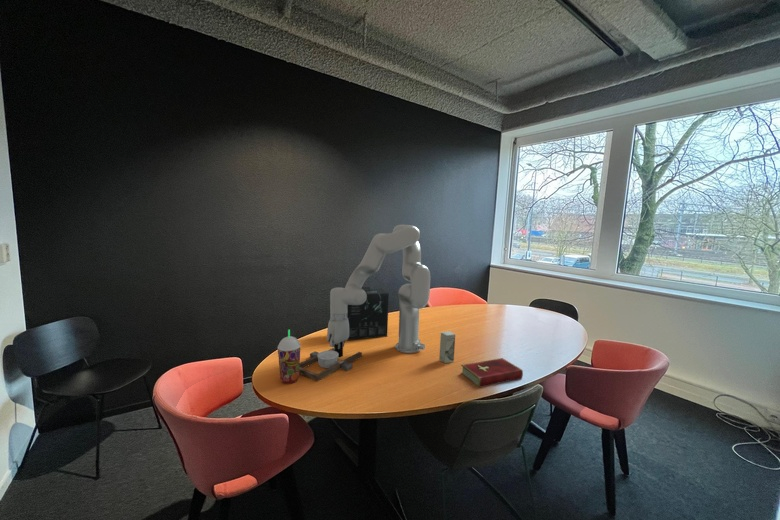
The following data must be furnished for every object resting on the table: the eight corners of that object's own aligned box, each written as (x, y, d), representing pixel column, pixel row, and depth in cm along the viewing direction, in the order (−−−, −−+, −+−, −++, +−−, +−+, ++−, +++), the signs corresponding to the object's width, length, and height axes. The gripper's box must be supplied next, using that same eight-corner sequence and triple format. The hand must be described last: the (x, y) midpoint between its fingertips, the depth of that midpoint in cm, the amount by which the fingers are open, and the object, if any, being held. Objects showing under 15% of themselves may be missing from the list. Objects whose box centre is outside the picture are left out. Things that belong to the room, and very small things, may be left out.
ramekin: (340, 367, 134) (340, 357, 134) (318, 370, 131) (318, 359, 131) (337, 358, 143) (337, 349, 142) (316, 360, 140) (316, 351, 139)
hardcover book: (522, 379, 129) (523, 369, 128) (479, 388, 121) (479, 377, 121) (501, 366, 140) (502, 357, 139) (460, 374, 132) (461, 364, 132)
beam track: (368, 358, 143) (368, 353, 143) (324, 384, 120) (324, 378, 120) (332, 347, 155) (332, 342, 155) (286, 368, 132) (286, 363, 132)
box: (444, 363, 140) (446, 335, 138) (438, 360, 144) (440, 332, 142) (454, 361, 142) (455, 333, 141) (448, 357, 146) (449, 330, 145)
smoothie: (288, 388, 117) (287, 335, 114) (273, 381, 121) (272, 330, 119) (305, 378, 124) (305, 328, 121) (290, 373, 128) (290, 324, 126)
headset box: (381, 329, 182) (382, 284, 179) (388, 336, 171) (389, 289, 168) (341, 333, 175) (342, 286, 171) (346, 341, 163) (347, 291, 160)
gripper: (343, 310, 148) (343, 348, 151) (320, 318, 136) (320, 360, 138) (356, 313, 144) (356, 352, 147) (333, 322, 132) (333, 364, 134)
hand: (338, 356), depth 142 cm, fingers closed
